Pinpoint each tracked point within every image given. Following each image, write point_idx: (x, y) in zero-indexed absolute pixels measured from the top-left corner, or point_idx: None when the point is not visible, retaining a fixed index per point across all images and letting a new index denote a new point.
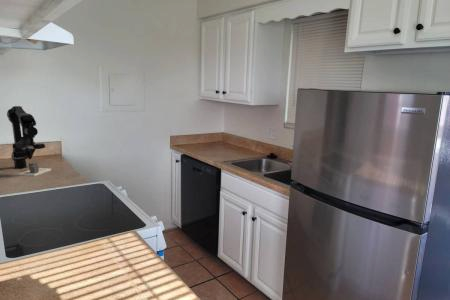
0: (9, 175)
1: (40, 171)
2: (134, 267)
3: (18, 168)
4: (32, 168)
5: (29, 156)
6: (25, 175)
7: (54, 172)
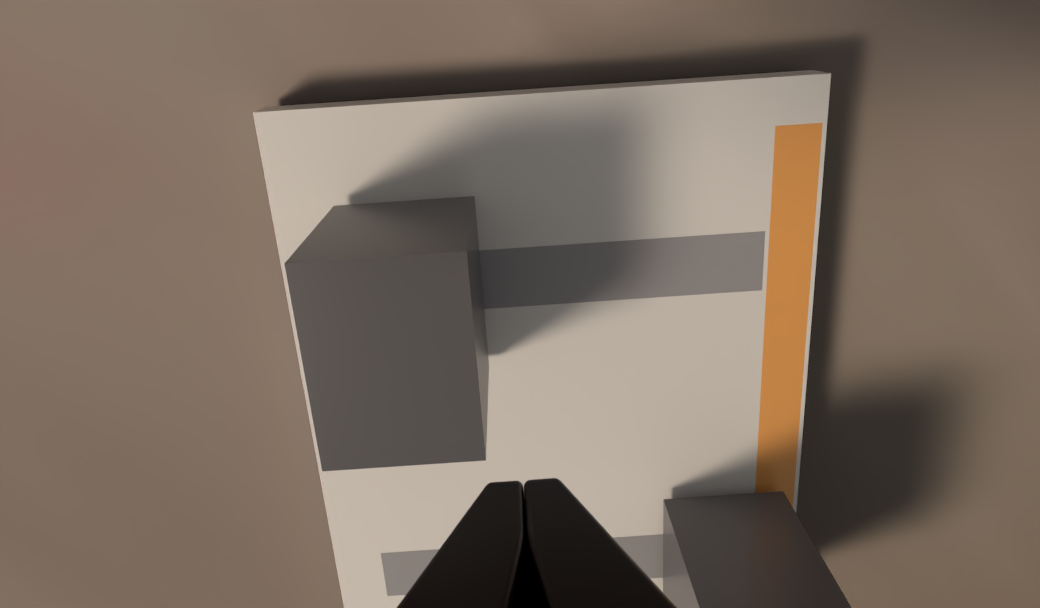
0: (1024, 5)
1: None
2: None
3: None
4: (366, 242)
5: (477, 563)
6: (554, 88)
7: (137, 540)
